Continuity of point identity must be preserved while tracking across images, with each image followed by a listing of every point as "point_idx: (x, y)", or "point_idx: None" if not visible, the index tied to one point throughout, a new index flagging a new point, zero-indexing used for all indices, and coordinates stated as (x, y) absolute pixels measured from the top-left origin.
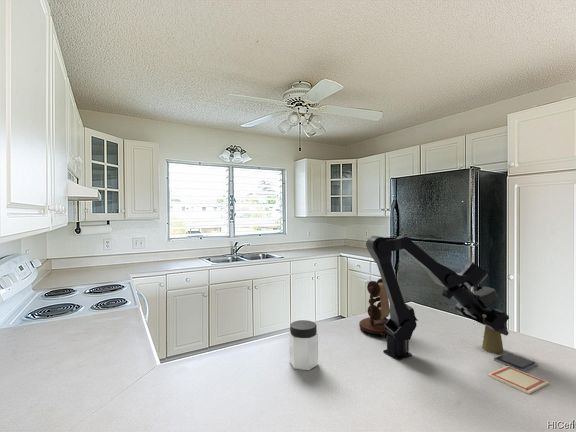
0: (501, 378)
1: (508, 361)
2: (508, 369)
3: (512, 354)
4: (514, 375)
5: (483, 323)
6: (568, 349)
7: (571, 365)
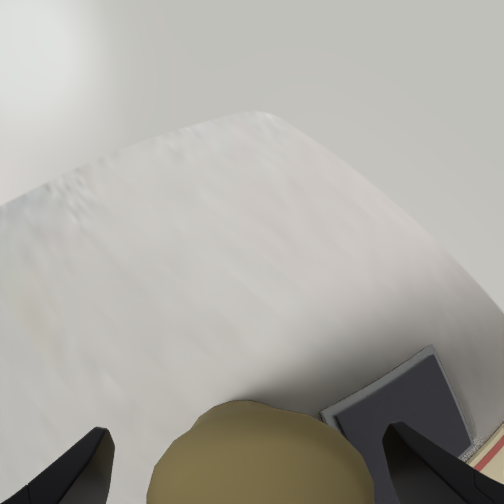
0: None
1: None
2: None
3: (362, 413)
4: None
5: (109, 472)
6: (271, 117)
7: (406, 213)
